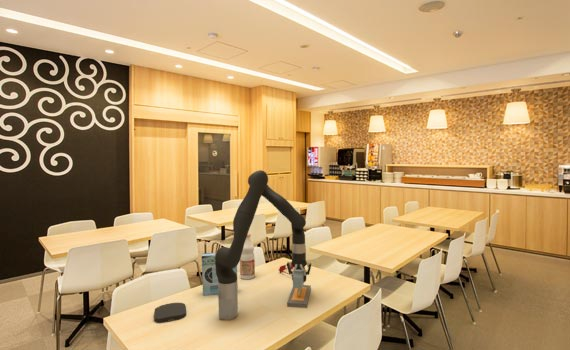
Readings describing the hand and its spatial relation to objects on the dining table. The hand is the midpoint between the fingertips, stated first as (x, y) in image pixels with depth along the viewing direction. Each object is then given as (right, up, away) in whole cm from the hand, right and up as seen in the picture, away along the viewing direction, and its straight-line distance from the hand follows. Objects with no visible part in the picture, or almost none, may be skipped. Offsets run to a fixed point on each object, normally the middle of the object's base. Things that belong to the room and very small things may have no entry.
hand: (299, 281), depth 175 cm
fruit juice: (-32, -8, +31) cm, 45 cm away
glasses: (-2, -8, +36) cm, 37 cm away
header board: (0, -9, 0) cm, 9 cm away
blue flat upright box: (-45, -9, +8) cm, 47 cm away
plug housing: (0, -1, +3) cm, 3 cm away
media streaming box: (-65, -11, -17) cm, 68 cm away
